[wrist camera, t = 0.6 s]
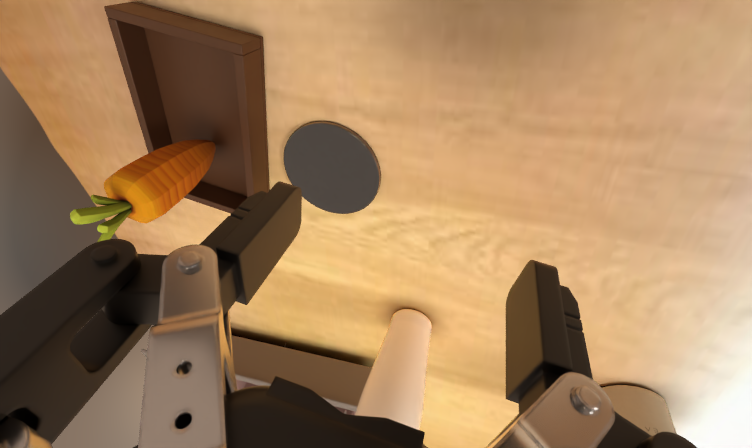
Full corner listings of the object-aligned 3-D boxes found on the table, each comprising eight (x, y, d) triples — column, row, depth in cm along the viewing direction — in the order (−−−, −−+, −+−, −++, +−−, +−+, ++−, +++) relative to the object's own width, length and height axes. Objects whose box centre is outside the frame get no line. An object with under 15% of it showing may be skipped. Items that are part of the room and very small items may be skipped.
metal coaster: (285, 108, 32) (283, 110, 31) (389, 139, 31) (388, 141, 30) (286, 194, 38) (283, 197, 38) (371, 222, 37) (370, 225, 37)
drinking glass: (391, 296, 44) (352, 417, 33) (444, 313, 43) (422, 444, 32) (383, 326, 48) (346, 442, 37) (431, 342, 47) (407, 465, 36)
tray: (133, 1, 29) (103, 5, 27) (262, 36, 28) (241, 44, 26) (178, 176, 41) (159, 189, 39) (270, 206, 40) (256, 222, 38)
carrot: (227, 173, 38) (111, 268, 27) (187, 144, 37) (50, 231, 26) (241, 142, 35) (117, 236, 24) (198, 110, 34) (47, 192, 23)
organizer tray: (173, 312, 64) (129, 360, 57) (379, 357, 54) (359, 424, 46) (231, 396, 84) (204, 440, 77) (391, 442, 73) (378, 498, 66)
